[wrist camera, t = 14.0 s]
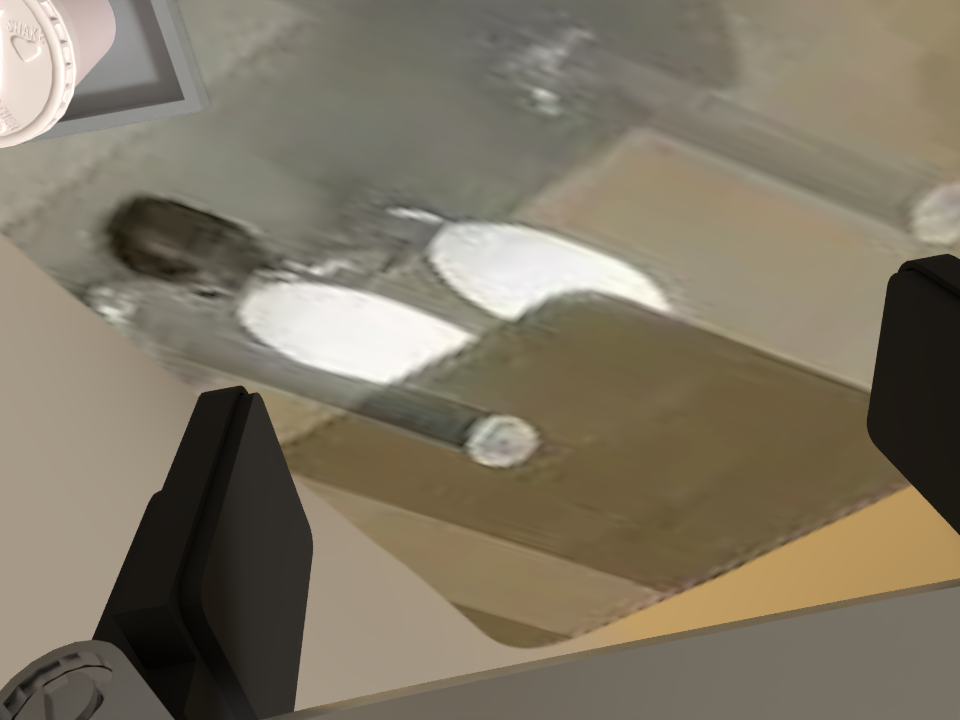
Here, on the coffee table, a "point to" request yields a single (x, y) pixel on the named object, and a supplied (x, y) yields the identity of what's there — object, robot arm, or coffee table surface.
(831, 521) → the coffee table surface
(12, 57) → the smoothie
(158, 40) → the tray
